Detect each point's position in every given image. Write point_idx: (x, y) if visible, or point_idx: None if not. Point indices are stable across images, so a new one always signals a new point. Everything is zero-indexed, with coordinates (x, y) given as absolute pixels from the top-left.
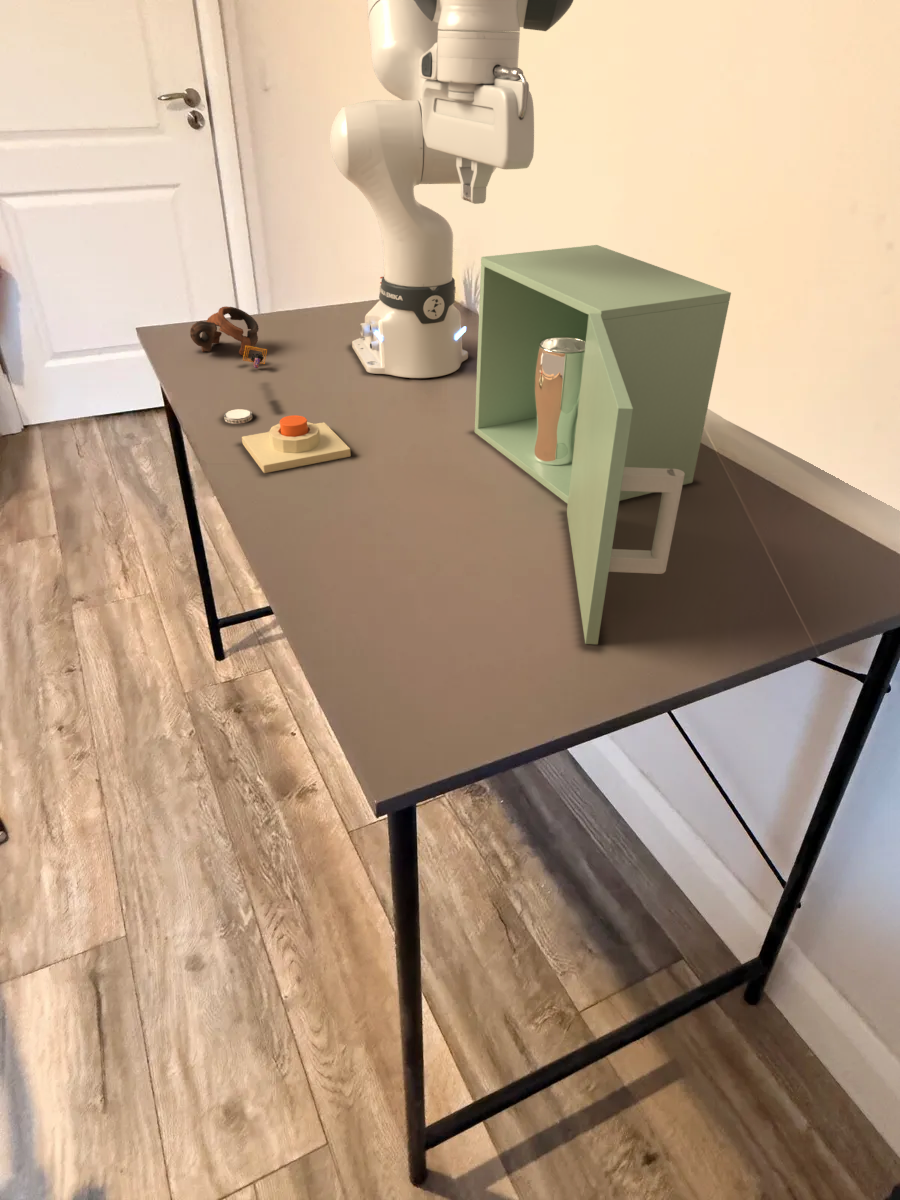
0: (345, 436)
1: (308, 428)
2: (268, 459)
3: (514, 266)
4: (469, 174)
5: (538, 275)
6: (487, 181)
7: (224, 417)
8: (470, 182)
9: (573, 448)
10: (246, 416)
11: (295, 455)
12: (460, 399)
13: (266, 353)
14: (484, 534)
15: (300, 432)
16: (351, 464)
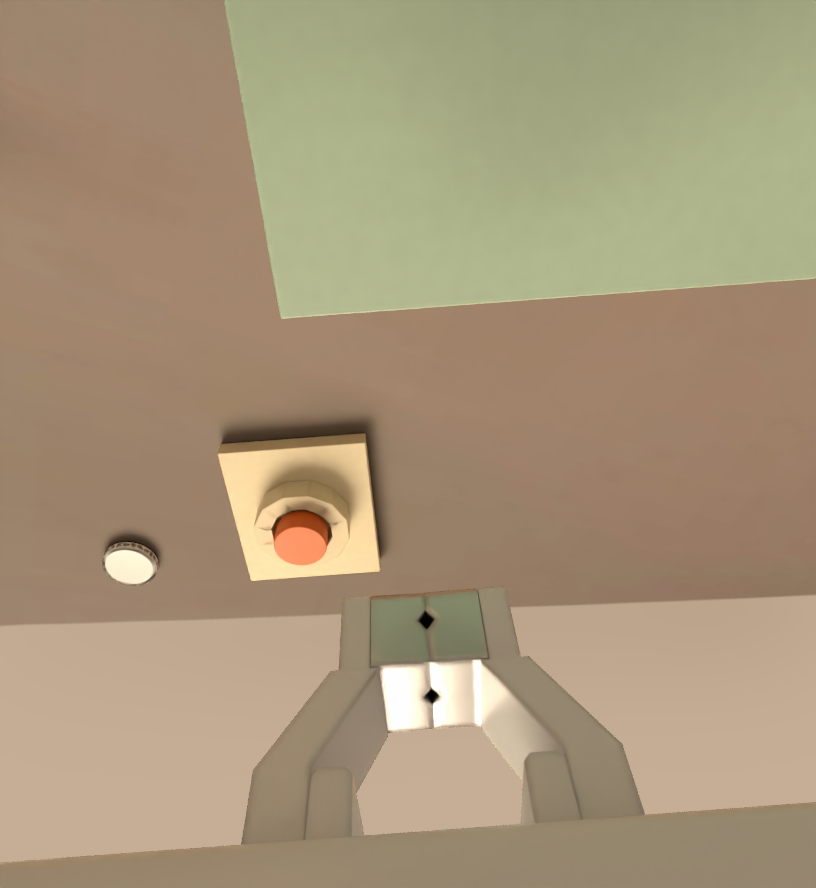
0: (263, 416)
1: (295, 508)
2: (360, 562)
3: (525, 246)
4: (347, 750)
5: (735, 214)
6: (555, 690)
7: (137, 584)
8: (382, 709)
9: None
10: (144, 557)
11: (359, 526)
12: (76, 62)
13: None
14: (758, 320)
15: (326, 531)
16: (396, 439)
